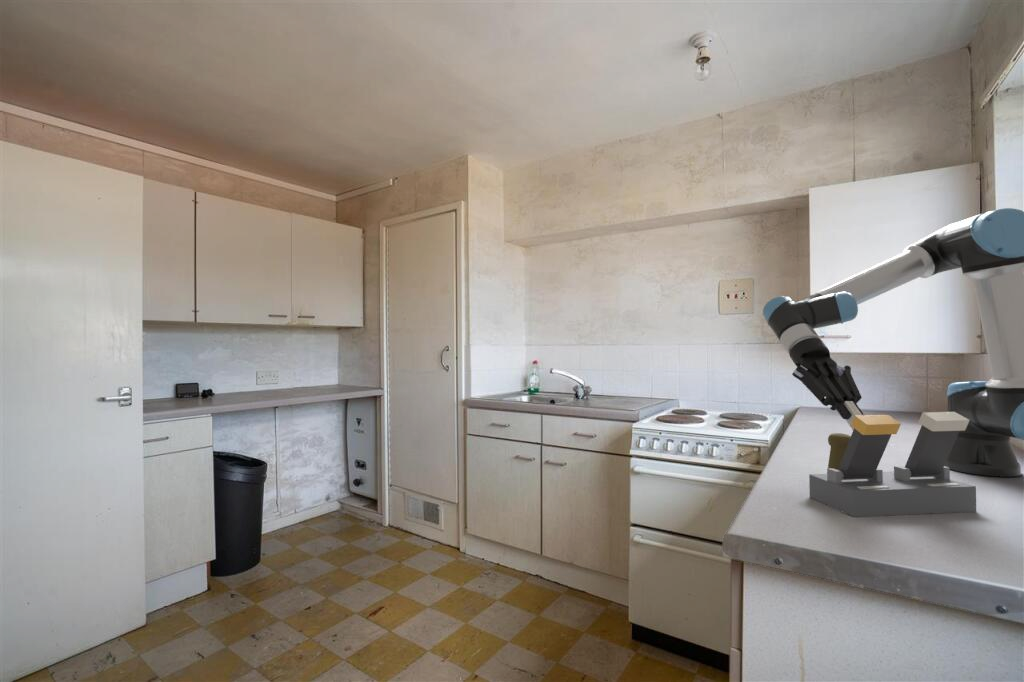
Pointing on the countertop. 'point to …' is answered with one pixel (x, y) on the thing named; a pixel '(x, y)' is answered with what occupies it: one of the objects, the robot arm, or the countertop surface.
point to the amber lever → (867, 445)
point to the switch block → (893, 493)
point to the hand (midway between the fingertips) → (863, 430)
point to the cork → (837, 449)
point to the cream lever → (934, 442)
